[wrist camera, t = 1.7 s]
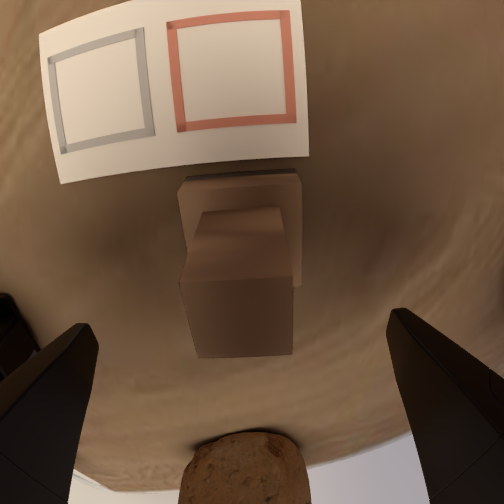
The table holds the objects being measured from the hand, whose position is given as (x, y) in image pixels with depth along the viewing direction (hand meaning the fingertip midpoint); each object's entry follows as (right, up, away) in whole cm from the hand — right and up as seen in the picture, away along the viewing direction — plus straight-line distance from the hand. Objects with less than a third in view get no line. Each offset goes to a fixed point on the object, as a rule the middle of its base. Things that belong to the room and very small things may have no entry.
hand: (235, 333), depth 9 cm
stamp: (0, +4, +6) cm, 7 cm away
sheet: (-3, +10, +3) cm, 11 cm away
